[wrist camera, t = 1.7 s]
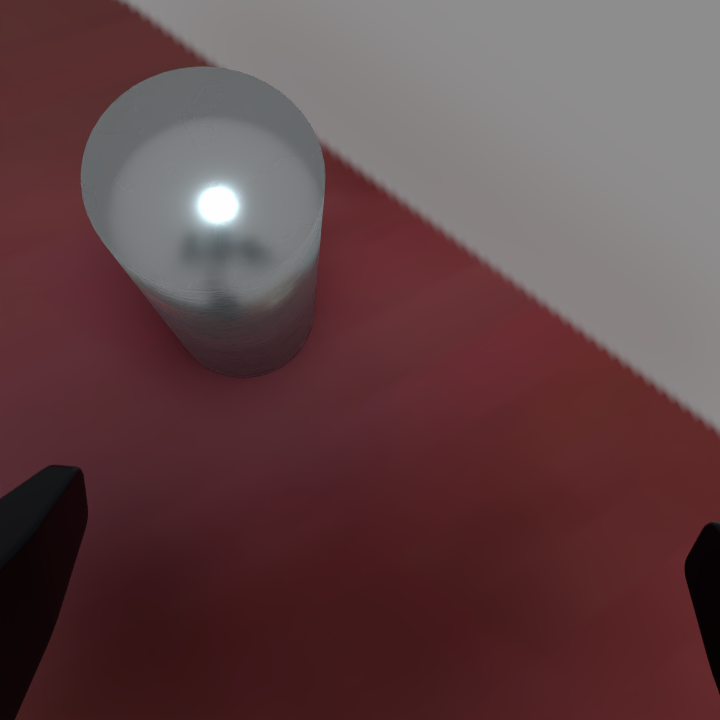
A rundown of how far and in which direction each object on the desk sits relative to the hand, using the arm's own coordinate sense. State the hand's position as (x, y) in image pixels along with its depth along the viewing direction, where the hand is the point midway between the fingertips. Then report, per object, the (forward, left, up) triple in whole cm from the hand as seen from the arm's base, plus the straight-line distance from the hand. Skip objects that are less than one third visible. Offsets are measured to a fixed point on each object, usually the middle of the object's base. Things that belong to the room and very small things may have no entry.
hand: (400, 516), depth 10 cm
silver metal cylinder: (0, +8, -14) cm, 16 cm away
